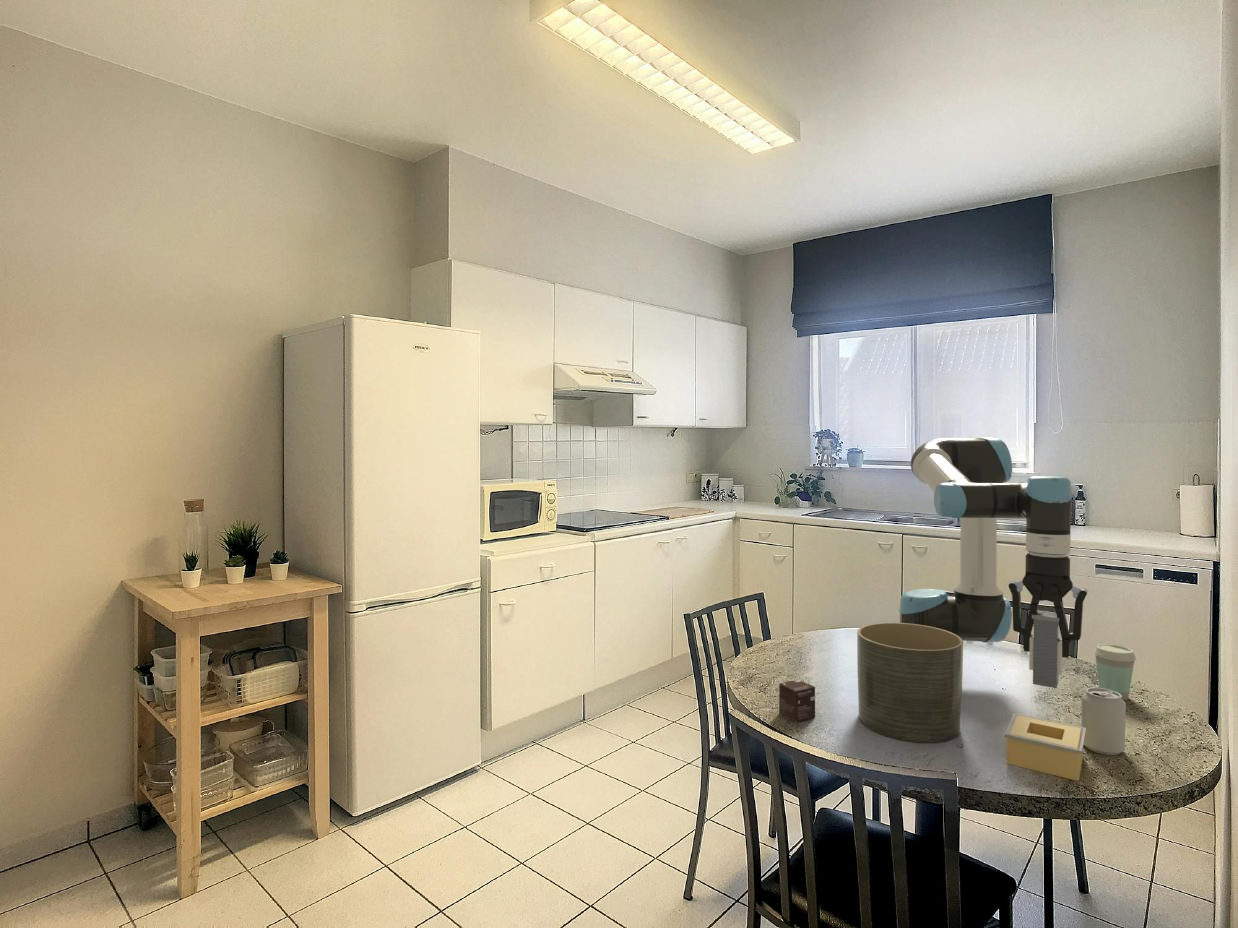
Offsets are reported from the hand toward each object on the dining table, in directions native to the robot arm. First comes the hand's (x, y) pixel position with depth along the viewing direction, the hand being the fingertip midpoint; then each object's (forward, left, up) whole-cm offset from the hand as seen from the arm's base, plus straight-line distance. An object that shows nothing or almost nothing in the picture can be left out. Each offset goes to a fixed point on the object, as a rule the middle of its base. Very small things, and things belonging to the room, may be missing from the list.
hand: (1045, 669), depth 138 cm
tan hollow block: (0, 0, -18) cm, 18 cm away
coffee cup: (+10, +50, -19) cm, 54 cm away
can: (+9, +13, -19) cm, 25 cm away
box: (-49, -8, -19) cm, 53 cm away
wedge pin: (0, 0, -3) cm, 3 cm away
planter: (-27, +3, -19) cm, 33 cm away
